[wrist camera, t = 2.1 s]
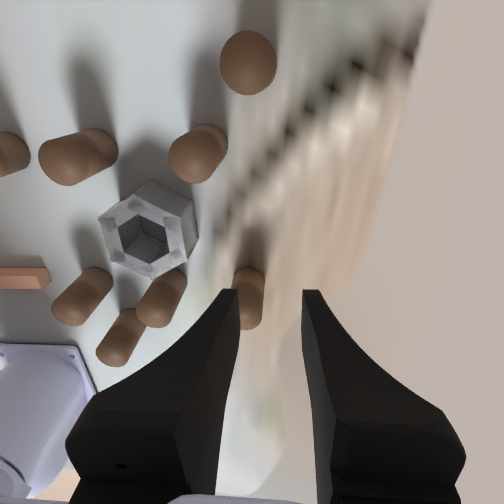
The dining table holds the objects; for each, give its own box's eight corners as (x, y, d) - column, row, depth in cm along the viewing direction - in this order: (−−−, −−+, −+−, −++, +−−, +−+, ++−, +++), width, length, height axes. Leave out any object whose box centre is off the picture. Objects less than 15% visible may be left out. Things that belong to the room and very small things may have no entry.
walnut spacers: (278, 333, 26) (277, 372, 23) (69, 328, 28) (39, 364, 25) (276, 38, 17) (274, 28, 13) (-45, 59, 18) (-122, 55, 15)
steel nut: (201, 257, 23) (191, 280, 21) (133, 257, 24) (115, 279, 21) (190, 178, 21) (177, 193, 18) (114, 180, 21) (90, 195, 18)
